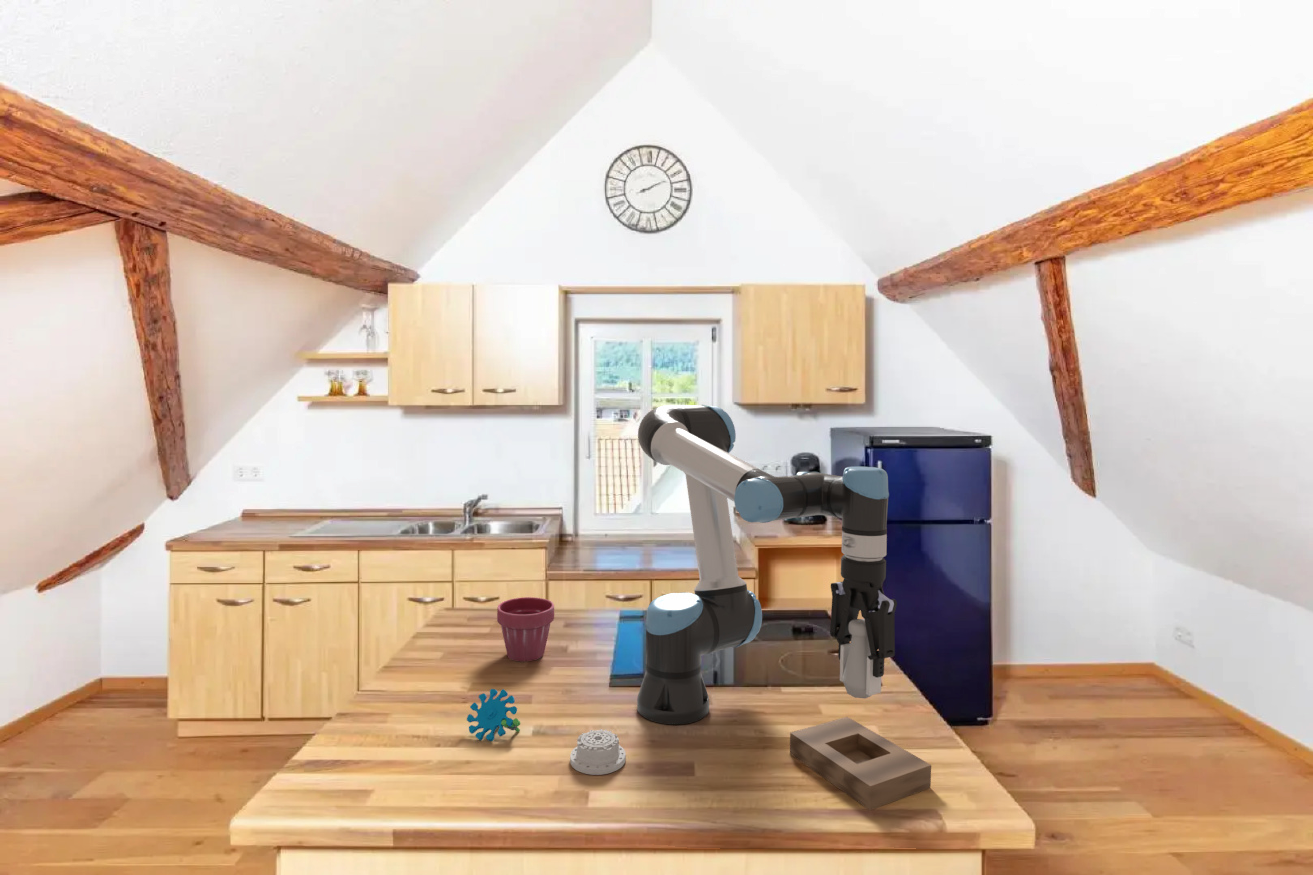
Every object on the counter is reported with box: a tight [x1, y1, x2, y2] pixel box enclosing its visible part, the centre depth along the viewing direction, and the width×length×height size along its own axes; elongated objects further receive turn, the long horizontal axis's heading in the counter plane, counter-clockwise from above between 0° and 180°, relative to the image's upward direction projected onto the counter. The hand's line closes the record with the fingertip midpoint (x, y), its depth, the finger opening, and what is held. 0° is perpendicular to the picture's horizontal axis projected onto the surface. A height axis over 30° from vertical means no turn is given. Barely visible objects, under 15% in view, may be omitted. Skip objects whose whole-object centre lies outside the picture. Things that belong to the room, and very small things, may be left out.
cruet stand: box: [789, 716, 932, 811], centre depth 126 cm, size 20×14×4 cm
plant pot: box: [496, 596, 555, 662], centre depth 178 cm, size 14×14×13 cm
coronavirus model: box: [466, 688, 521, 742], centre depth 139 cm, size 11×6×10 cm
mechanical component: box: [569, 728, 627, 776], centre depth 128 cm, size 10×4×10 cm
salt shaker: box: [842, 618, 873, 699], centre depth 124 cm, size 6×6×13 cm
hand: (859, 686), depth 125 cm, fingers closed on salt shaker, 6 cm apart
